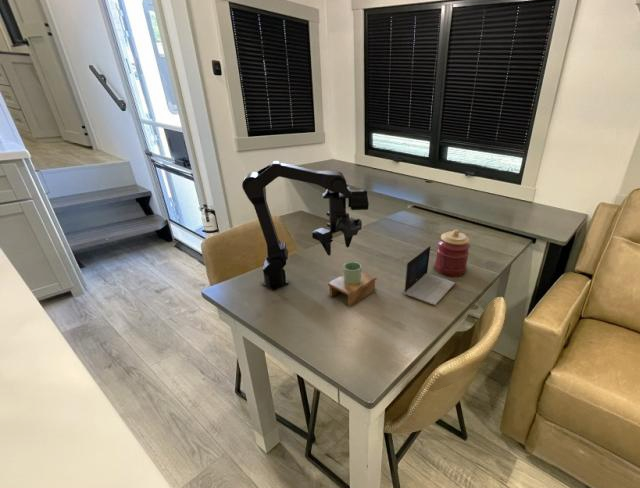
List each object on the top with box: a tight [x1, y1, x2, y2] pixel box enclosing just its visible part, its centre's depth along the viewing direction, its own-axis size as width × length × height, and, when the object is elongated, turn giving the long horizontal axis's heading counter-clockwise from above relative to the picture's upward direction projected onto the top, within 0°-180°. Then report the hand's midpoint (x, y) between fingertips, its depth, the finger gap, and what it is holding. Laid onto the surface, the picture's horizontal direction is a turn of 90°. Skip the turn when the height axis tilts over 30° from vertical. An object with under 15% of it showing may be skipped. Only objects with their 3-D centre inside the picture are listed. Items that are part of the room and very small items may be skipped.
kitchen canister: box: [434, 229, 471, 277], centre depth 134 cm, size 13×13×18 cm
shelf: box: [327, 270, 377, 307], centre depth 116 cm, size 14×10×6 cm
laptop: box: [403, 245, 456, 306], centre depth 120 cm, size 18×12×13 cm
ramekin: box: [342, 261, 363, 285], centre depth 114 cm, size 6×6×6 cm
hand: (338, 251), depth 120 cm, fingers open, 9 cm apart
